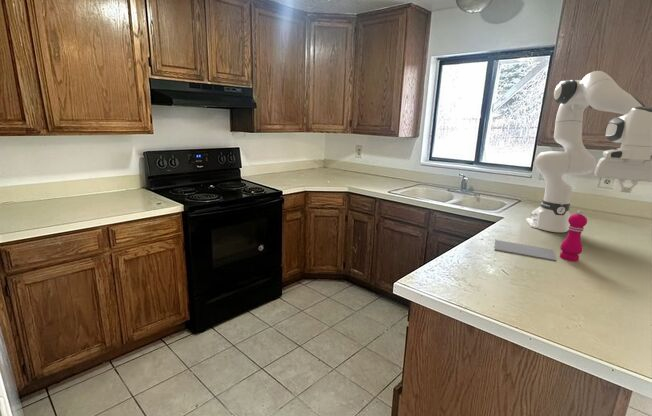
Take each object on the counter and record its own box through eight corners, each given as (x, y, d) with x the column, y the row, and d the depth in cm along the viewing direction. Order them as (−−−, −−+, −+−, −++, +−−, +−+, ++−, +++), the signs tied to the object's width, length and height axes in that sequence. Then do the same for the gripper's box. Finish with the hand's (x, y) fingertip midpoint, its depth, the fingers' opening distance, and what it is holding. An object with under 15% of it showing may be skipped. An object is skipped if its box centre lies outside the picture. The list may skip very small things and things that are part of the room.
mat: (552, 250, 148) (552, 249, 148) (556, 261, 137) (556, 260, 137) (495, 241, 157) (495, 239, 157) (494, 250, 146) (494, 249, 146)
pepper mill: (557, 253, 145) (568, 207, 140) (578, 257, 141) (590, 210, 136) (558, 259, 139) (569, 210, 134) (580, 263, 135) (592, 214, 130)
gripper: (669, 155, 123) (658, 194, 126) (598, 151, 131) (589, 187, 135) (677, 157, 117) (665, 197, 121) (602, 152, 126) (593, 190, 129)
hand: (624, 192), depth 128 cm, fingers closed
